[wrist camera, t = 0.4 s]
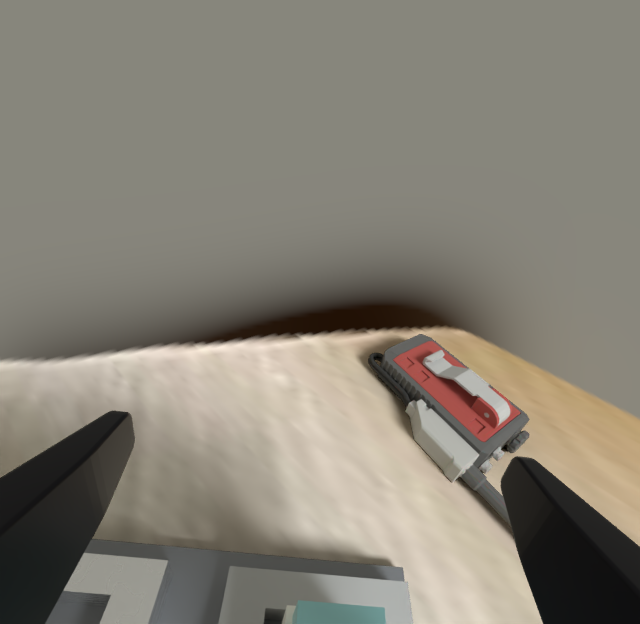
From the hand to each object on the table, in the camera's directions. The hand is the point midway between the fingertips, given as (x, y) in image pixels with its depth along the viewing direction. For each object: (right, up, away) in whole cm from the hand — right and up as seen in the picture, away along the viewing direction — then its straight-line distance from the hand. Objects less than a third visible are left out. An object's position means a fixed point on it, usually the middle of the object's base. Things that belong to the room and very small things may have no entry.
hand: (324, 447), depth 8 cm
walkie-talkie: (+12, -7, +21) cm, 25 cm away
